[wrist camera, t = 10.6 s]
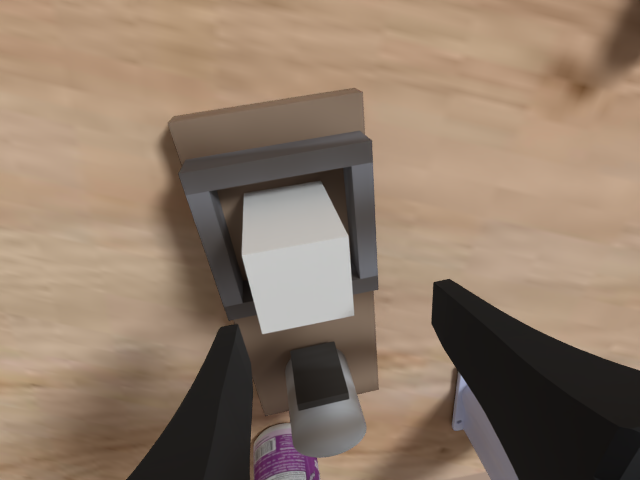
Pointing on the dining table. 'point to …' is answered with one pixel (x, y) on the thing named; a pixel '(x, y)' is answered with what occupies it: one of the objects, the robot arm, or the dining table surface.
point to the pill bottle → (281, 457)
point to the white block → (296, 257)
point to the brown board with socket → (228, 267)
